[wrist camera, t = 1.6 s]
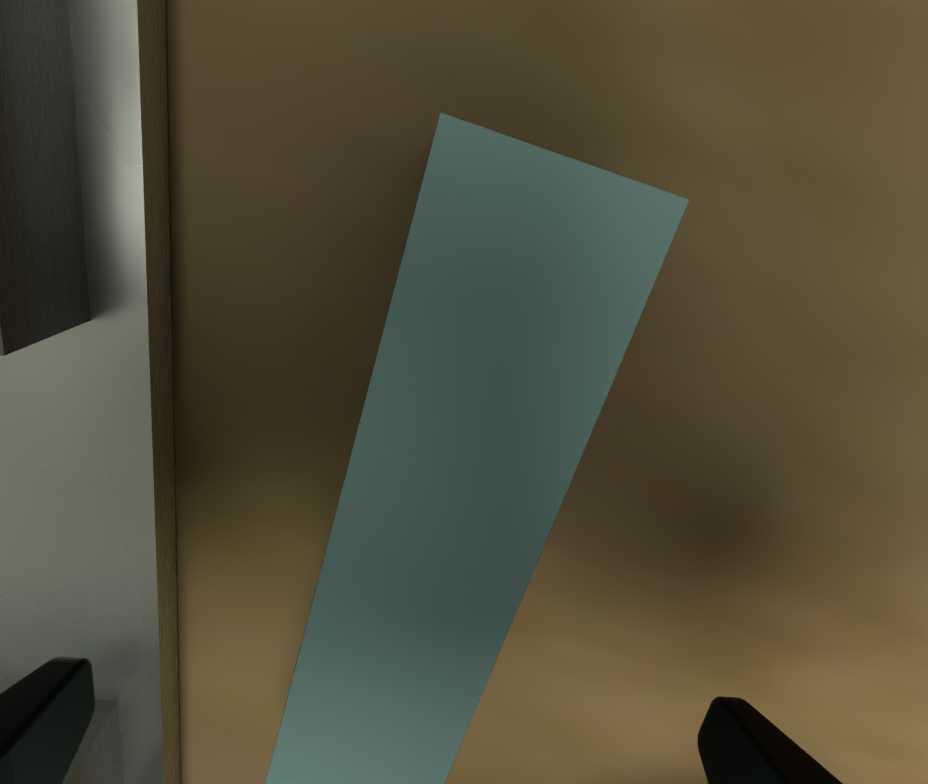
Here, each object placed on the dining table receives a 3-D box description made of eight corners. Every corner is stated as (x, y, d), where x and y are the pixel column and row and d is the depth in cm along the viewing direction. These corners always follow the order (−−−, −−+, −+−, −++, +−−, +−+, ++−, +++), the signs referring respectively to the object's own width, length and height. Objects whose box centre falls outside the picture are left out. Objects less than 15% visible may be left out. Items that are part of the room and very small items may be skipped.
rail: (408, 715, 16) (404, 878, 12) (287, 697, 15) (244, 863, 12) (598, 194, 11) (688, 199, 7) (433, 138, 10) (440, 112, 7)
